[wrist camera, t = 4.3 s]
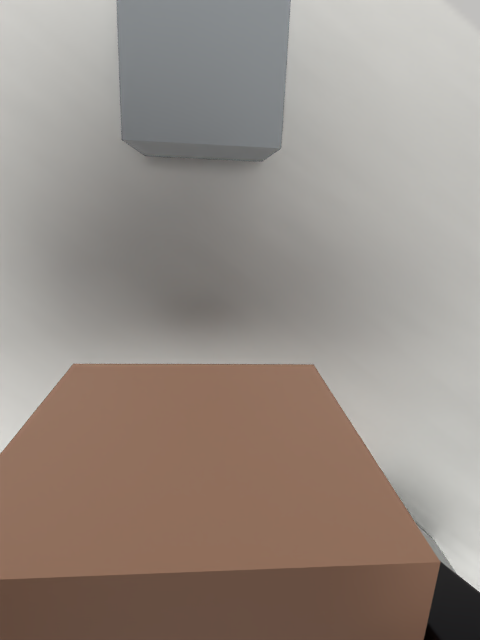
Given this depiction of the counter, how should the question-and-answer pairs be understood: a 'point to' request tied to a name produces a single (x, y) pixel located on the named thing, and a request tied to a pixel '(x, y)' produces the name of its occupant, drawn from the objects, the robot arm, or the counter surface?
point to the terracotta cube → (203, 513)
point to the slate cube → (203, 77)
